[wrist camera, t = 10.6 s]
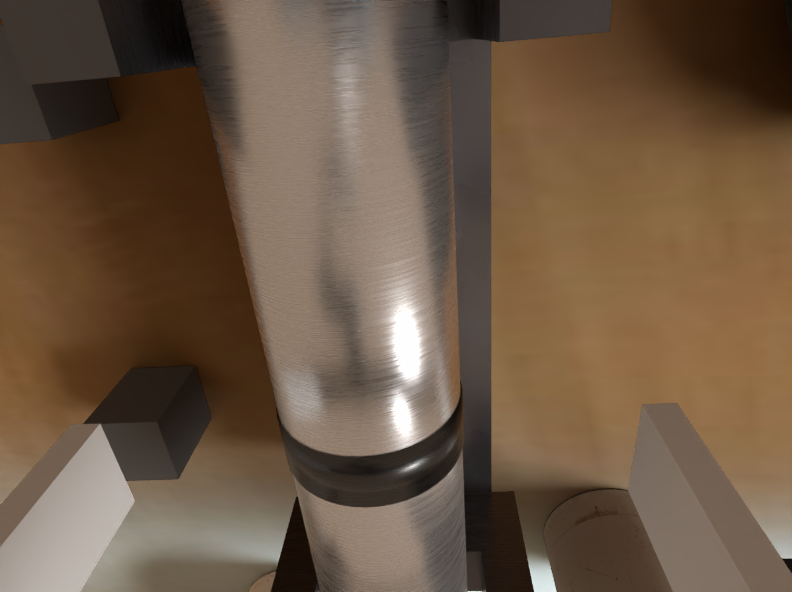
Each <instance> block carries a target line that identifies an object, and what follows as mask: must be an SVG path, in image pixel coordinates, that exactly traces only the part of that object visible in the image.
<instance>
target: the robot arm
mask: <svg viewBox="0 0 792 592" xmlns="http://www.w3.org/2000/svg"><path fill="white" fill-rule="evenodd" d="M628 491H629V493H630V496H631V498H632V500H633V502H634V505H635V507H636V509H637V512H638V514H639V516H640V518H641V521H642V523H643V525H644V527H645V530H646V532H647V534H648V536H649V539H650V541H651V543H652V545H653V548H654V550H655V552H656V555H657V557H658V559H659V561H660V564H661V566H662V568H663V570H664V573H665V575H666V577H667V579H668V582H669V584H670V586H671V588H672V591H673V592H792V559H782V558H781V557H780V555H779V554H778V552H777V551H776V549H775V548H774V546H773V545H772V543H771V542H770V540H769V539H768V537H767V536H766V534H765V533H764V531H763V530H762V528H761V527H760V525H759V524H758V522H757V521H756V520H755V518H754V517H753V515H752V514H751V512H750V511H749V509H748V508H747V506H746V505H745V503H744V502H743V500H742V499H741V497H740V496H739V494H738V493H737V491H736V490H735V488H734V487H733V485H732V484H731V482H730V481H729V479H728V478H727V476H726V475H725V473H724V472H723V470H722V469H721V468H720V466H719V465H718V463H717V462H716V460H715V459H714V457H713V456H712V454H711V453H710V451H709V450H708V448H707V447H706V445H705V444H704V442H703V441H702V439H701V438H700V436H699V435H698V433H697V432H696V430H695V429H694V427H693V426H692V424H691V423H690V421H689V420H688V418H687V417H686V416H685V414H684V413H683V411H682V410H681V408H680V407H679V405H678V404H677V403H663V404H642V410H641V416H640V422H639V427H638V433H637V439H636V445H635V451H634V456H633V462H632V468H631V474H630V480H629V485H628ZM134 502H135V500H134V498H133V495H132V493H131V491H130V489H129V486H128V484H127V482H126V480H125V478H124V475H123V473H122V471H121V469H120V467H119V464H118V462H117V460H116V458H115V455H114V453H113V451H112V449H111V447H110V444H109V442H108V440H107V438H106V435H105V433H104V431H103V429H102V427H101V424H73V425H70V426H69V428H68V429H67V430H66V431H65V432H64V433H63V434H62V436H61V437H60V438H59V439H58V440H57V441H56V442H55V444H54V445H53V446H52V447H51V448H50V449H49V450H48V451H47V453H46V454H45V455H44V456H43V457H42V458H41V459H40V461H39V462H38V463H37V464H36V465H35V466H34V467H33V469H32V470H31V471H30V472H29V473H28V474H27V475H26V477H25V478H24V479H23V480H22V481H21V482H20V483H19V485H18V486H17V487H16V488H15V489H14V490H13V491H12V492H11V494H10V495H9V496H8V497H7V498H6V499H5V500H4V502H3V503H2V504H1V505H0V592H80V591H81V590H82V588H83V586H84V585H85V583H86V581H87V580H88V578H89V576H90V575H91V573H92V571H93V570H94V568H95V566H96V565H97V563H98V561H99V560H100V558H101V556H102V555H103V553H104V551H105V550H106V548H107V546H108V545H109V543H110V541H111V540H112V538H113V537H114V535H115V533H116V532H117V530H118V528H119V527H120V525H121V523H122V522H123V520H124V518H125V517H126V515H127V513H128V512H129V510H130V508H131V507H132V505H133V503H134Z"/></svg>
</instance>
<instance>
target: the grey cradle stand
mask: <svg viewBox="0 0 792 592" xmlns="http://www.w3.org/2000/svg"><path fill="white" fill-rule="evenodd" d="M447 5H448V34H449V64H450V93H451V123H452V153H453V182H454V212H455V241H456V271H457V301H458V330H459V360H460V380H461V384H462V394H463V425H464V443H463V478H464V508H465V537H466V567H467V591H482V592H534V590H533V585H532V580H531V575H530V570H529V565H528V560H527V555H526V550H525V545H524V540H523V535H522V530H521V525H520V520H519V515H518V510H517V505H516V500H515V496H514V491H510V492H491V41H496V42H504V41H515V40H526V39H537V38H548V37H559V36H570V35H581V34H592V33H602V32H609V30H610V19H611V8H612V0H447ZM0 18H1V21H2V23H3V26H4V29H5V31H6V34H7V37H8V39H9V42H10V45H11V47H12V50H13V53H14V55H15V58H16V60H17V63H18V66H19V68H20V71H21V74H22V76H23V79H24V82H25V84H26V85H33V84H44V83H55V82H66V81H77V80H88V79H99V78H109V77H120V76H128V75H135V74H142V73H149V72H156V71H163V70H170V69H177V68H184V67H191V66H197V65H196V61H195V57H194V52H193V48H192V44H191V40H190V35H189V31H188V27H187V23H186V18H185V14H184V10H183V6H182V1H181V0H0ZM271 592H320V588H319V584H318V580H317V575H316V571H315V567H314V563H313V558H312V554H311V550H310V546H309V541H308V537H307V533H306V529H305V524H304V520H303V516H302V512H301V507H300V503H299V499H298V497H296V500H295V503H294V507H293V511H292V514H291V518H290V522H289V526H288V529H287V533H286V537H285V540H284V544H283V548H282V551H281V555H280V559H279V563H278V566H277V570H276V574H275V577H274V581H273V585H272V588H271Z"/></svg>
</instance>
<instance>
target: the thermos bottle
mask: <svg viewBox="0 0 792 592" xmlns="http://www.w3.org/2000/svg"><path fill="white" fill-rule="evenodd" d="M544 541H545V545H546V549H547V553H548V557H549V562H550V566H551V570H552V574H553V578H554V582H555V586H556V590H557V592H673V591H672V588H671V586H670V584H669V582H668V579H667V577H666V575H665V573H664V570H663V568H662V566H661V564H660V561H659V559H658V557H657V555H656V552H655V550H654V548H653V545H652V543H651V541H650V539H649V536H648V534H647V532H646V530H645V527H644V525H643V523H642V521H641V518H640V516H639V514H638V512H637V509H636V507H635V505H634V502H633V500H632V498H631V496H630V493H629V491H625V490H616V489H605V490H596V491H590V492H586V493H583V494H580V495H577V496H575V497H573V498H571V499H569V500H567V501H566V502H564V503H563V504H561V505H560V506H558V507H557V508H556V509H555V510H554V511H553V512H552V514H551V515H550V517H549V518H548V520H547V522H546V525H545V528H544Z"/></svg>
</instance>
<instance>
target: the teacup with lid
mask: <svg viewBox="0 0 792 592" xmlns="http://www.w3.org/2000/svg"><path fill="white" fill-rule="evenodd" d="M275 574H276V571H275V572H271V573H269V574H266V575H264V576H263V577H261V578H260V579H258V580H257V581H256V582H255V583H254V584H253V585H252V586H251V588H250V589H249V591H248V592H271V588H272V585H273V581H274V577H275Z"/></svg>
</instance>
